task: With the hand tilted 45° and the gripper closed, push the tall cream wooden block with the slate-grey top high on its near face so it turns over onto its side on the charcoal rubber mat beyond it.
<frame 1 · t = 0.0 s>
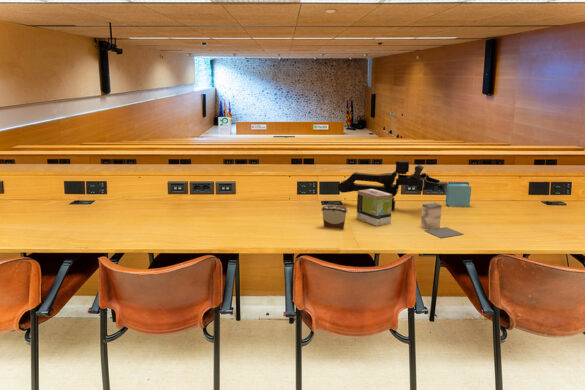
hand: (439, 183, 230), 17 cm above the table, tool horizontal, fingers open, 9 cm apart
teal square slab: (457, 206, 251), on the table
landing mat: (443, 232, 205), on the table
tea box: (373, 221, 222), on the table
food container: (335, 227, 213), on the table
cream block: (430, 227, 213), on the table
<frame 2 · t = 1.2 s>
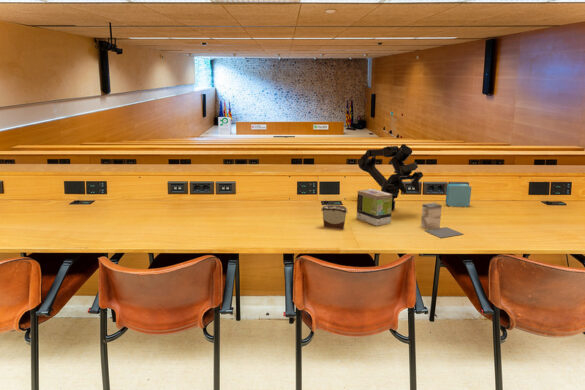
hand: (412, 192, 223), 14 cm above the table, tool tilted 45°, fingers open, 8 cm apart
nothing on the table moved.
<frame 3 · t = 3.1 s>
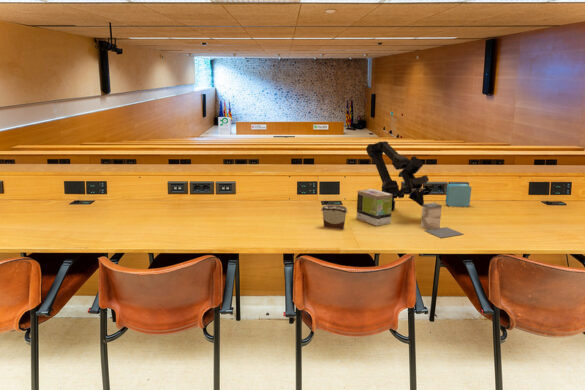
hand: (422, 205, 216), 9 cm above the table, tool tilted 45°, fingers closed
nothing on the table moved.
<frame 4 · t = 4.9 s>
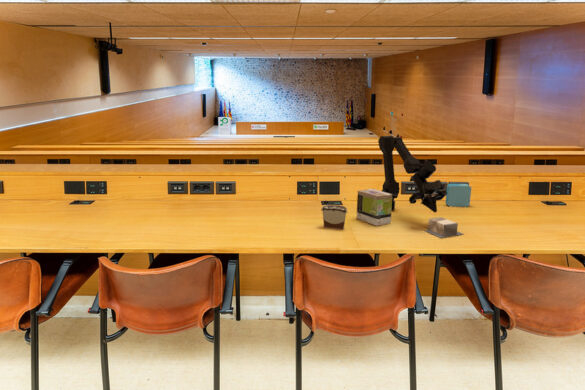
hand: (435, 212, 208), 8 cm above the table, tool tilted 45°, fingers closed
cream block: (434, 222, 210), point 3 cm above the table, tilted 90°, touching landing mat
everything else where it was.
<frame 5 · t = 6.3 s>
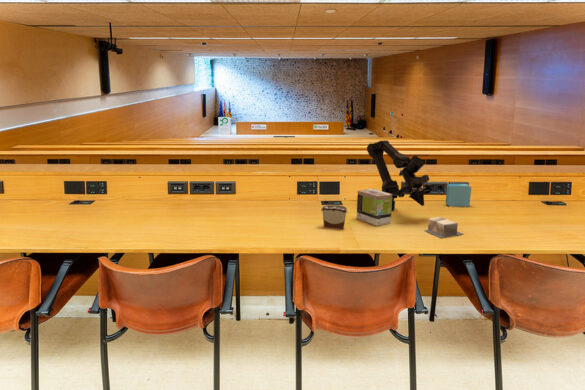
hand: (423, 205, 216), 9 cm above the table, tool tilted 45°, fingers closed
nothing on the table moved.
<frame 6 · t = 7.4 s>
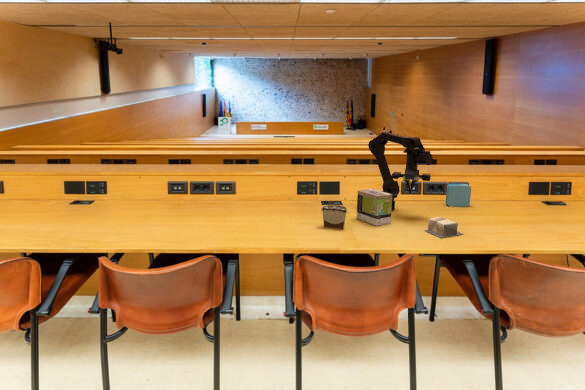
hand: (410, 192, 228), 12 cm above the table, tool pointing down, fingers closed
nothing on the table moved.
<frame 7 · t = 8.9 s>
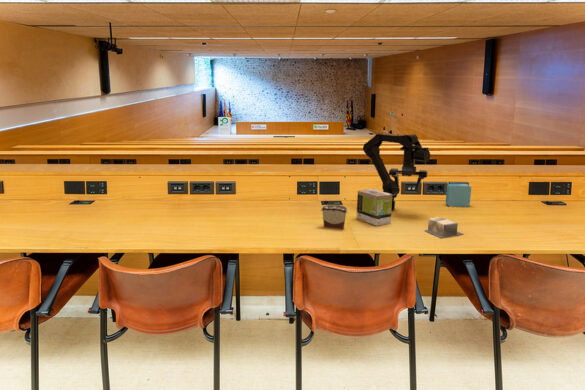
hand: (407, 189, 232), 13 cm above the table, tool pointing down, fingers open, 9 cm apart
nothing on the table moved.
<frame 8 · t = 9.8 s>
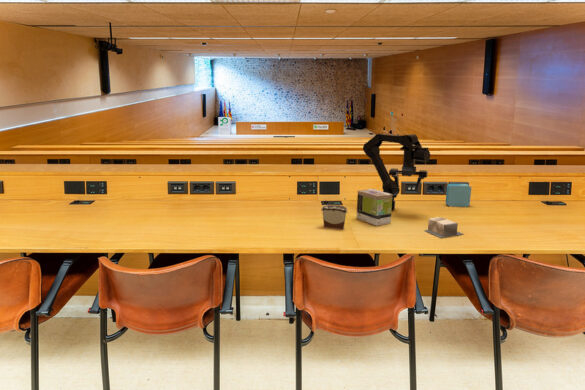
hand: (407, 189, 232), 13 cm above the table, tool pointing down, fingers open, 9 cm apart
nothing on the table moved.
at the end: cream block tilted 90°; cream block touching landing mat; cream block inside the target area (2.5 cm from its centre), point 2.8 cm above the table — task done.
